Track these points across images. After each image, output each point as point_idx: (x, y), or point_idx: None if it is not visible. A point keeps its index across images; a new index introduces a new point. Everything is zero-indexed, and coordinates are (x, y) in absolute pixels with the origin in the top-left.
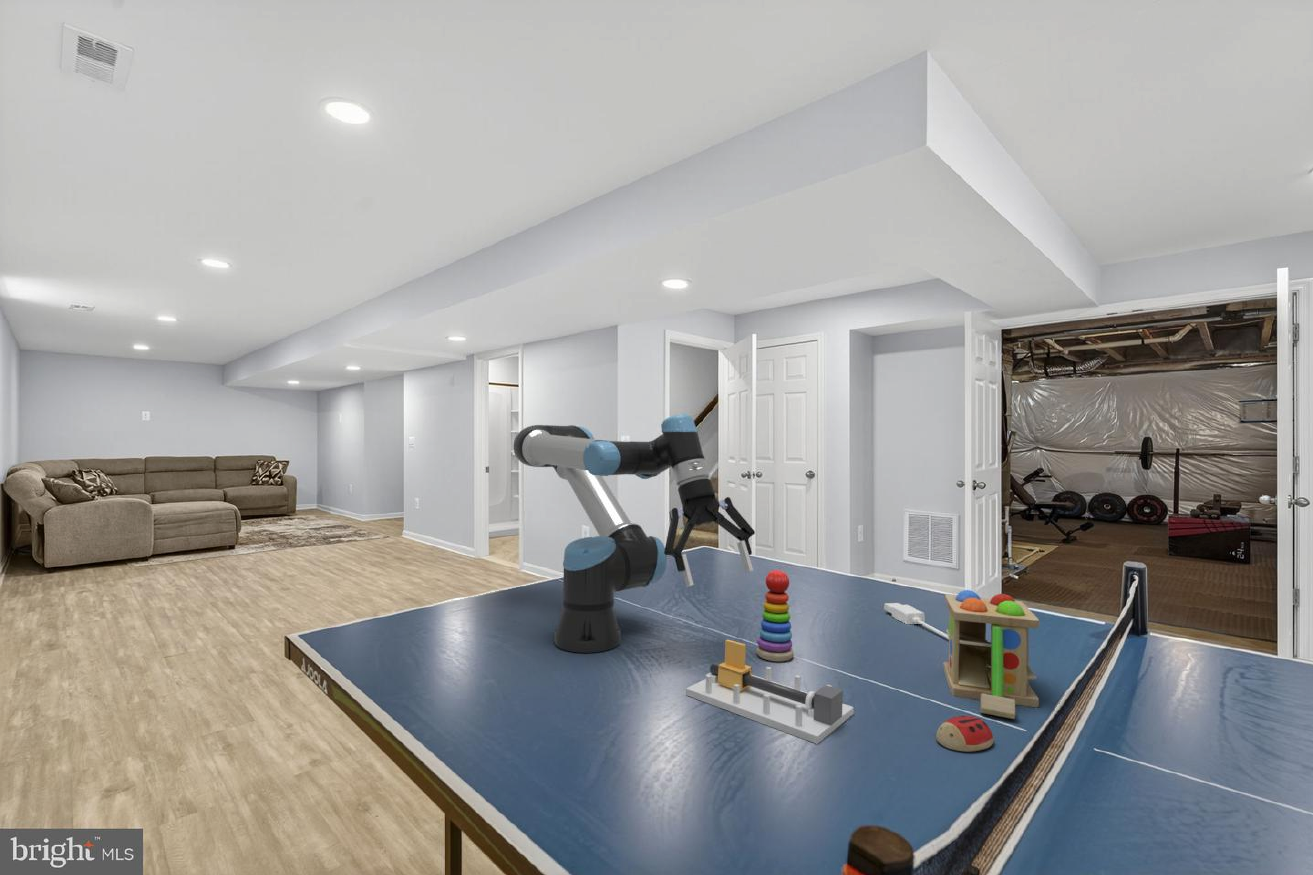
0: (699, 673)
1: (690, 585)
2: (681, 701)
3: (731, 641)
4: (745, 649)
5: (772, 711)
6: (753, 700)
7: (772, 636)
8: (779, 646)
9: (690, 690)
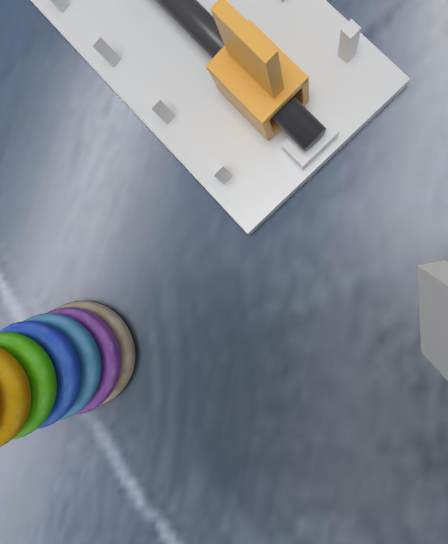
0: (336, 239)
1: (444, 260)
2: (426, 45)
3: (256, 40)
4: (215, 19)
5: None
6: (235, 8)
7: (69, 322)
8: (67, 308)
9: (398, 69)
